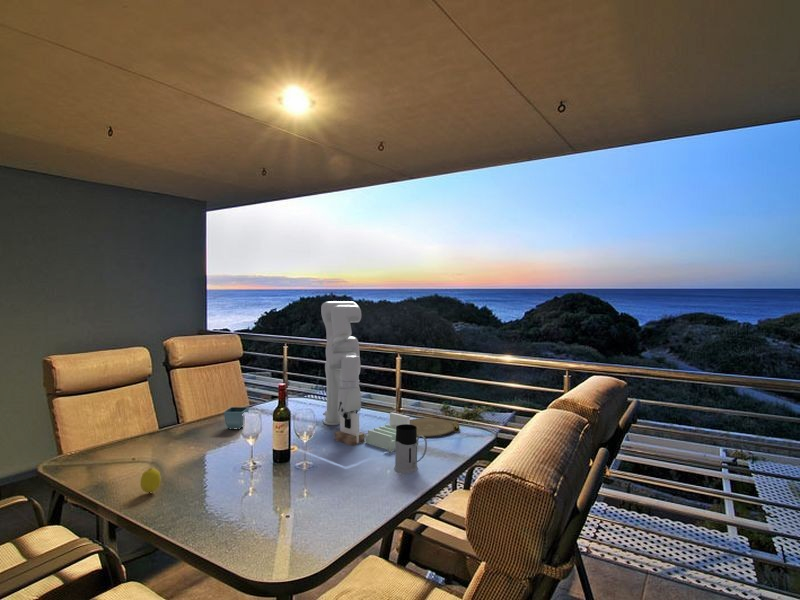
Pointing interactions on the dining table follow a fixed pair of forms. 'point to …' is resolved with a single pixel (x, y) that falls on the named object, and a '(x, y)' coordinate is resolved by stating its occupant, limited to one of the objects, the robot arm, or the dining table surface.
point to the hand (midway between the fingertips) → (349, 427)
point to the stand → (349, 438)
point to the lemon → (150, 480)
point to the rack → (387, 432)
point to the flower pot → (234, 417)
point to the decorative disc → (434, 427)
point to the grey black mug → (407, 449)
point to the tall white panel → (354, 425)
